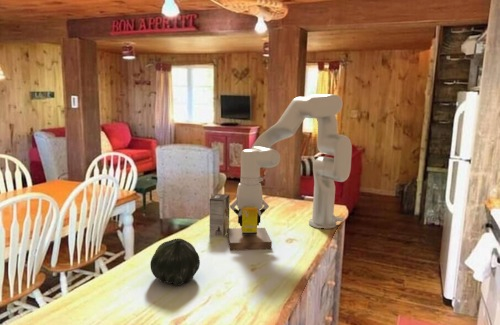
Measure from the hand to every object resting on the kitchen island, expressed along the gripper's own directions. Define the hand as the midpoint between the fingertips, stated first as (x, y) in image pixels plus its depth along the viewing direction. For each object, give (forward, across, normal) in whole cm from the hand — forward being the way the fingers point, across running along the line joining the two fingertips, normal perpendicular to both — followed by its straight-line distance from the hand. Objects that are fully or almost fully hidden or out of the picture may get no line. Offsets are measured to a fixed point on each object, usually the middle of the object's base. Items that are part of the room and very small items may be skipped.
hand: (249, 224), depth 156 cm
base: (+7, 0, 0) cm, 7 cm away
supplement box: (+3, 0, 0) cm, 3 cm away
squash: (+7, +27, +30) cm, 41 cm away
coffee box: (+8, +11, -11) cm, 17 cm away
